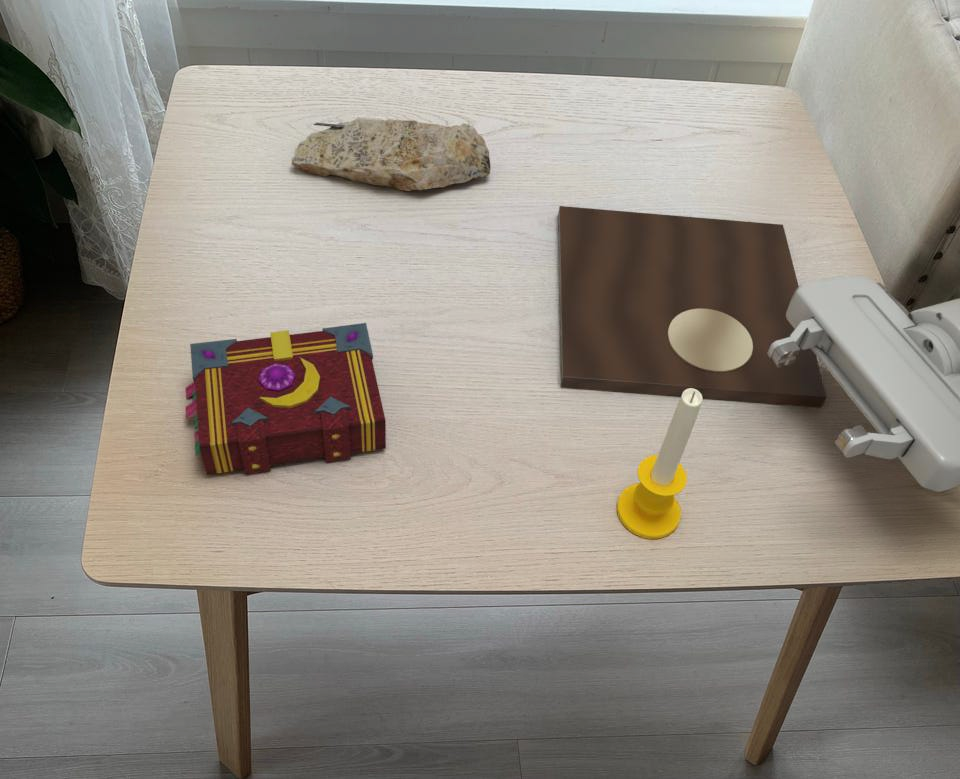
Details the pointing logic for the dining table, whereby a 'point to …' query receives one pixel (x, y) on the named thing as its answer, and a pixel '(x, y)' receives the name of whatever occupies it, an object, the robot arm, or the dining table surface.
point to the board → (678, 307)
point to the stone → (395, 153)
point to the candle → (661, 478)
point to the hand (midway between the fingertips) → (806, 398)
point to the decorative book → (285, 399)
